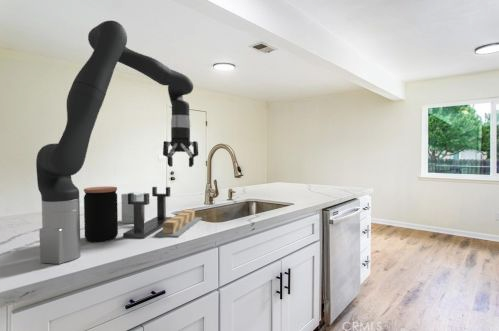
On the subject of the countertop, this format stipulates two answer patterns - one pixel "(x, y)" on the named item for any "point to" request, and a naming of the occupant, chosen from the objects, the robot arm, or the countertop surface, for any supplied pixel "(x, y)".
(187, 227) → the mat
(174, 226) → the rail
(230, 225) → the countertop surface
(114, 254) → the countertop surface
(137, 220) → the rack
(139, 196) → the supplement box
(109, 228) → the coffee jar
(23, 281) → the countertop surface
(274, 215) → the countertop surface
